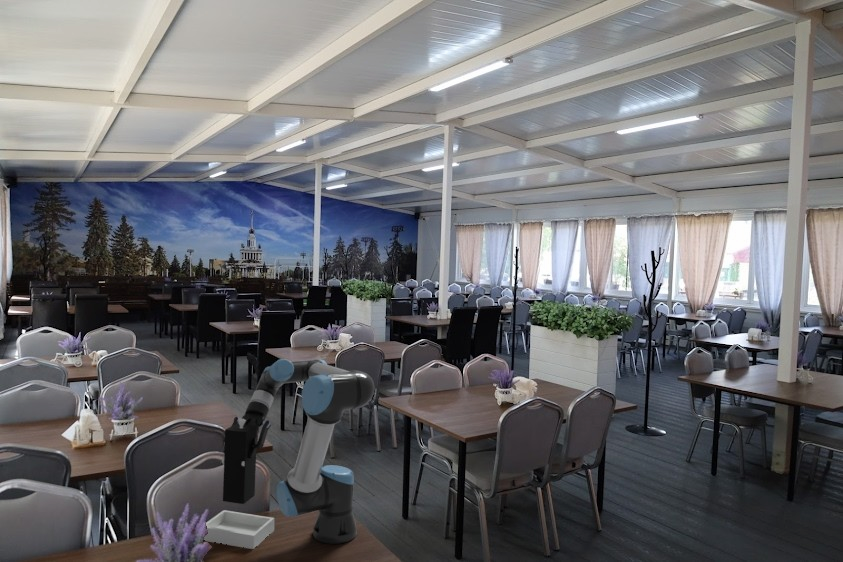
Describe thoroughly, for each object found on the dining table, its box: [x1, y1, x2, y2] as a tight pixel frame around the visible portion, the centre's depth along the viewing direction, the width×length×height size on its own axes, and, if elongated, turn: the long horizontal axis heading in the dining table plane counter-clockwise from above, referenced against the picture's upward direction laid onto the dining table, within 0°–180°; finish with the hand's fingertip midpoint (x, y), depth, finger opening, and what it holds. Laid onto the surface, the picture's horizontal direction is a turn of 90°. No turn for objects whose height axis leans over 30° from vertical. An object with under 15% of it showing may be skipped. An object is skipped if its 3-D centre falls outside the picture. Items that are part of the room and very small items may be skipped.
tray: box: [204, 509, 276, 550], centre depth 203 cm, size 20×14×4 cm
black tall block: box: [222, 417, 257, 505], centre depth 203 cm, size 8×8×28 cm
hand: (233, 464), depth 199 cm, fingers closed on black tall block, 7 cm apart
